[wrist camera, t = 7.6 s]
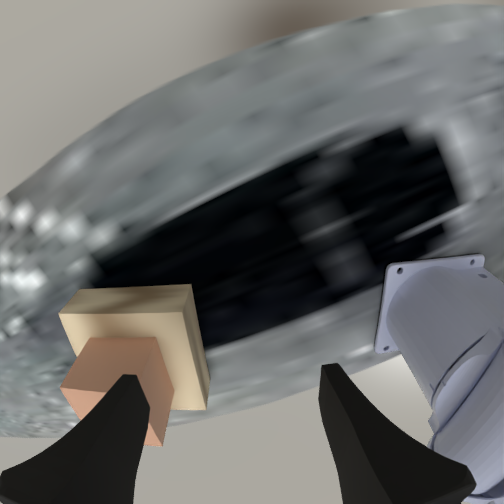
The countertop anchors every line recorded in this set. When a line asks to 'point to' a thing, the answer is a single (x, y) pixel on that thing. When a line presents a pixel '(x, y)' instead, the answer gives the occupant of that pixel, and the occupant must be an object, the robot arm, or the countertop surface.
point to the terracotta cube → (112, 368)
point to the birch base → (147, 331)
